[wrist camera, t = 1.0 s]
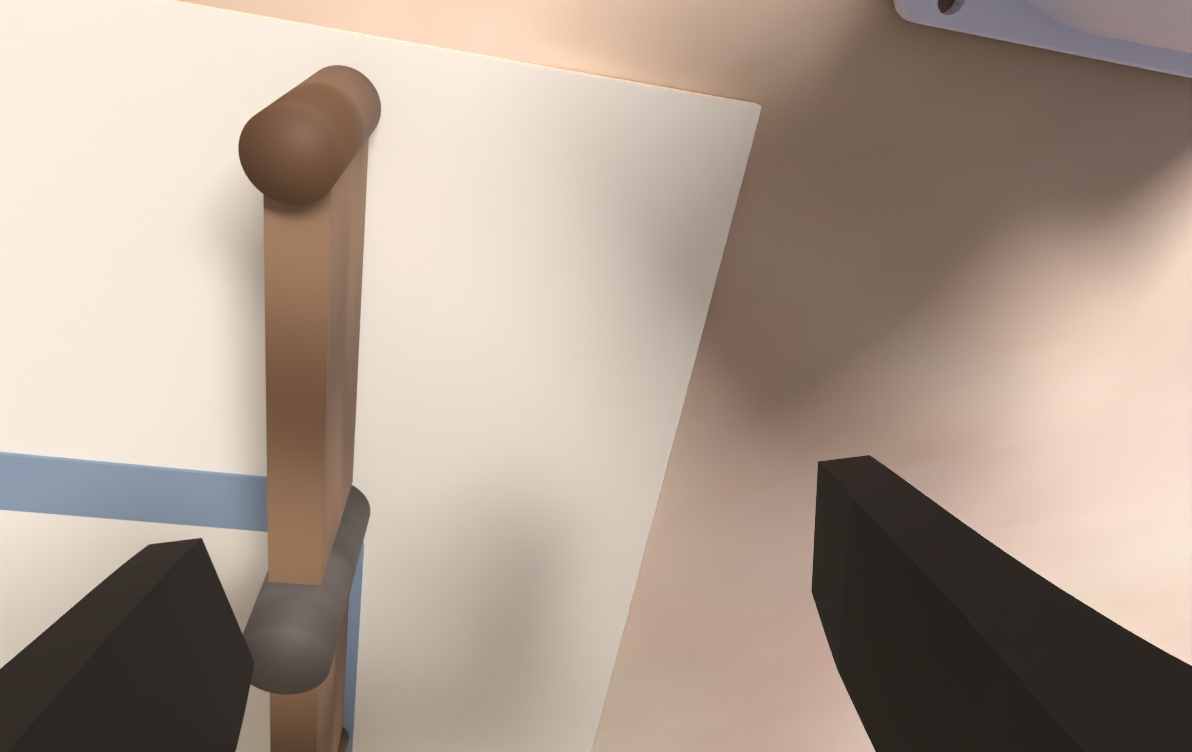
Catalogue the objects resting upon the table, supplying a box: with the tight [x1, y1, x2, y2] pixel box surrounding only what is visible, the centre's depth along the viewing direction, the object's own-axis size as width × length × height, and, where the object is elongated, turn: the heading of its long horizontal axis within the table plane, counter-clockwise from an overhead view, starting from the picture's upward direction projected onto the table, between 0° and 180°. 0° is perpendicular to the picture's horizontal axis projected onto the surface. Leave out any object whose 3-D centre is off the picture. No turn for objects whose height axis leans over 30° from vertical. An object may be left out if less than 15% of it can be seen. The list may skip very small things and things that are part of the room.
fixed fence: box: [243, 485, 370, 752], centre depth 20 cm, size 10×2×5 cm, turn 170°
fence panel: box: [238, 65, 381, 586], centre depth 15 cm, size 9×1×4 cm, turn 170°
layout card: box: [0, 0, 762, 752], centre depth 20 cm, size 20×22×1 cm
